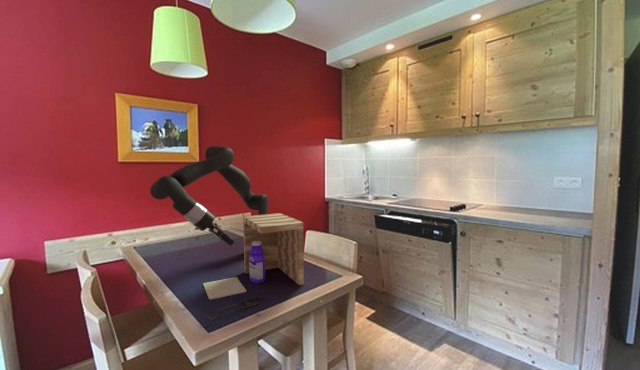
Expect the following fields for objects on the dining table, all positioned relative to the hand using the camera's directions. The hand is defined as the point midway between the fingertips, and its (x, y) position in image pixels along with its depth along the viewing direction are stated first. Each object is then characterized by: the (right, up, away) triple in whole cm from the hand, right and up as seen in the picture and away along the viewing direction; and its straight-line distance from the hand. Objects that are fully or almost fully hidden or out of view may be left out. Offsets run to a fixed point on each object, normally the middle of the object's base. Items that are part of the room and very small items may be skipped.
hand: (230, 241), depth 121 cm
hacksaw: (+7, -21, -19) cm, 29 cm away
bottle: (+10, -19, +7) cm, 22 cm away
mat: (-2, -19, 0) cm, 19 cm away
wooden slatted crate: (+16, -18, +10) cm, 26 cm away
